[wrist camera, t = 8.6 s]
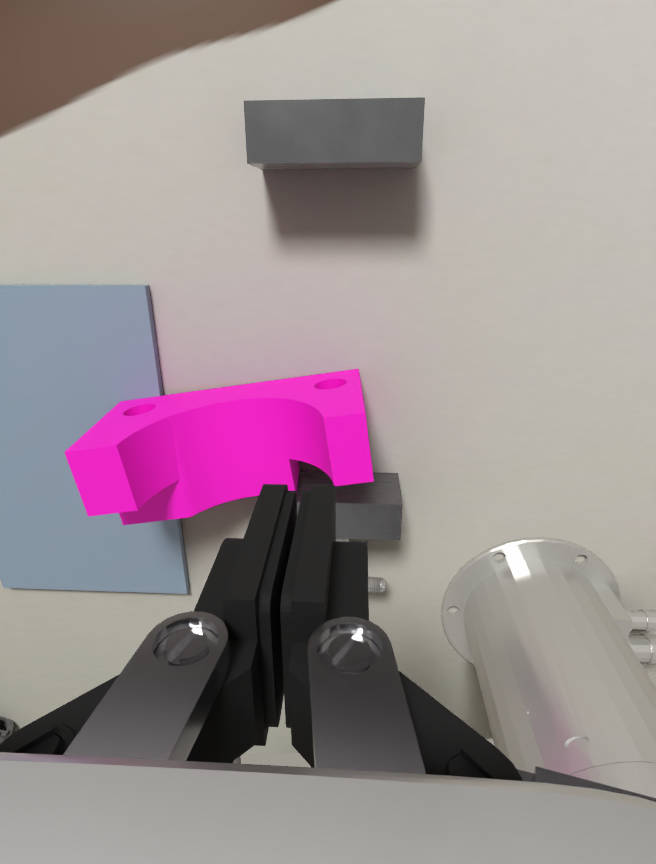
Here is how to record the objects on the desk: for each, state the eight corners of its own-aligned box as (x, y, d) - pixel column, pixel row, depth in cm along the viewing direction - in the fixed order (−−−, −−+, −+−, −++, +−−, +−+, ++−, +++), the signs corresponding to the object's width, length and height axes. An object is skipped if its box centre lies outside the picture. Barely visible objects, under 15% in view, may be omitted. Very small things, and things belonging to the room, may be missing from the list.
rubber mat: (148, 285, 31) (145, 286, 30) (189, 588, 39) (187, 593, 39) (-81, 284, 32) (-89, 286, 31) (8, 582, 40) (3, 587, 40)
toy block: (147, 488, 36) (102, 555, 29) (120, 401, 33) (64, 452, 26) (369, 460, 35) (379, 523, 28) (358, 368, 32) (365, 412, 25)
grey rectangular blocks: (416, 112, 27) (424, 97, 23) (392, 572, 38) (396, 612, 34) (259, 115, 27) (243, 100, 24) (281, 569, 38) (273, 607, 35)
